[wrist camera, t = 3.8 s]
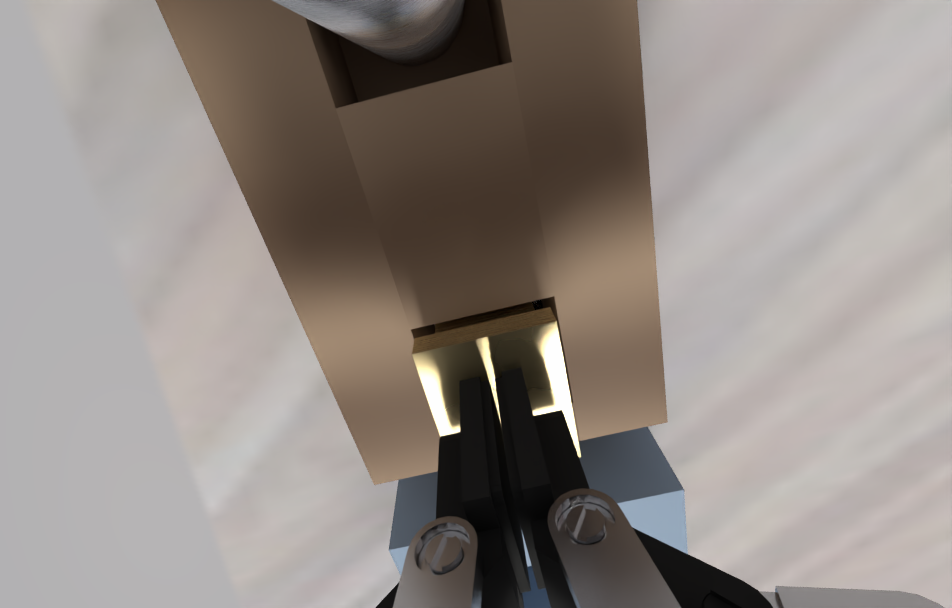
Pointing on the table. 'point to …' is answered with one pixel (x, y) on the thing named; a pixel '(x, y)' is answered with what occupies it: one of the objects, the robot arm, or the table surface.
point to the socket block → (445, 197)
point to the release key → (494, 361)
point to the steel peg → (389, 25)
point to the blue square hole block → (606, 469)
